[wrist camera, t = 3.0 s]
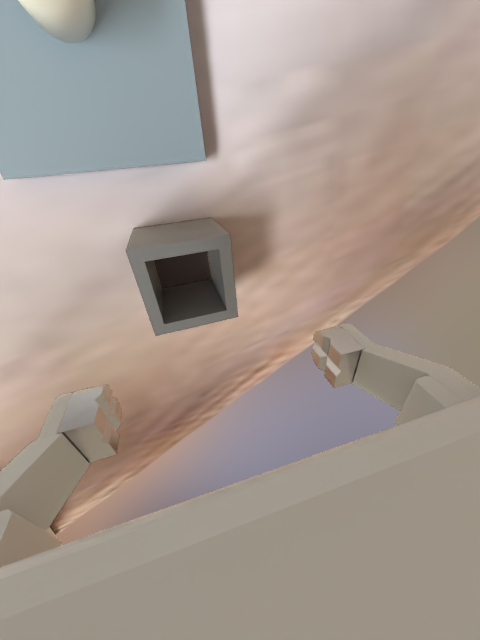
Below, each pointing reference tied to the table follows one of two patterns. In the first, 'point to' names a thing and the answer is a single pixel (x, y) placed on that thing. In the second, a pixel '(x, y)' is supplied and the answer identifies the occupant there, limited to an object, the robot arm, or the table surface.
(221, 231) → the collar
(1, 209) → the table surface
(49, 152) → the base
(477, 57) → the table surface
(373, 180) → the table surface
